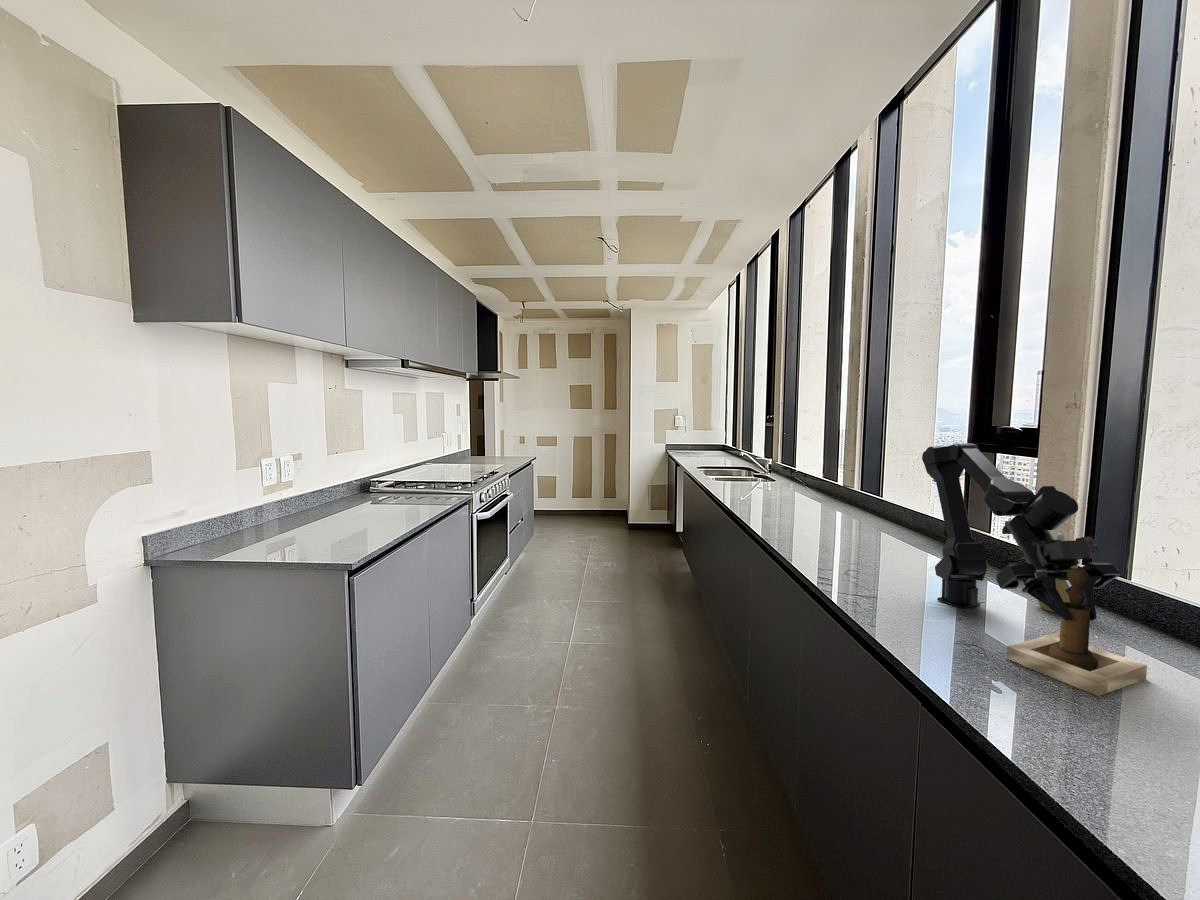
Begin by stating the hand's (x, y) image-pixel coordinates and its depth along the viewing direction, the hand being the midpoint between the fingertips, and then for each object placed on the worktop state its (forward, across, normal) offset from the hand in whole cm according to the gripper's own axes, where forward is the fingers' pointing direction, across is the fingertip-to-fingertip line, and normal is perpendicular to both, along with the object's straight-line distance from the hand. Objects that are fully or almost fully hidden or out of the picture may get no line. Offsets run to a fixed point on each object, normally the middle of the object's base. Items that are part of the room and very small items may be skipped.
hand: (1081, 619), depth 93 cm
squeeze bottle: (-13, +19, +28) cm, 36 cm away
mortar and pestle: (+6, 0, +8) cm, 9 cm away
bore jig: (+6, 0, +8) cm, 10 cm away
